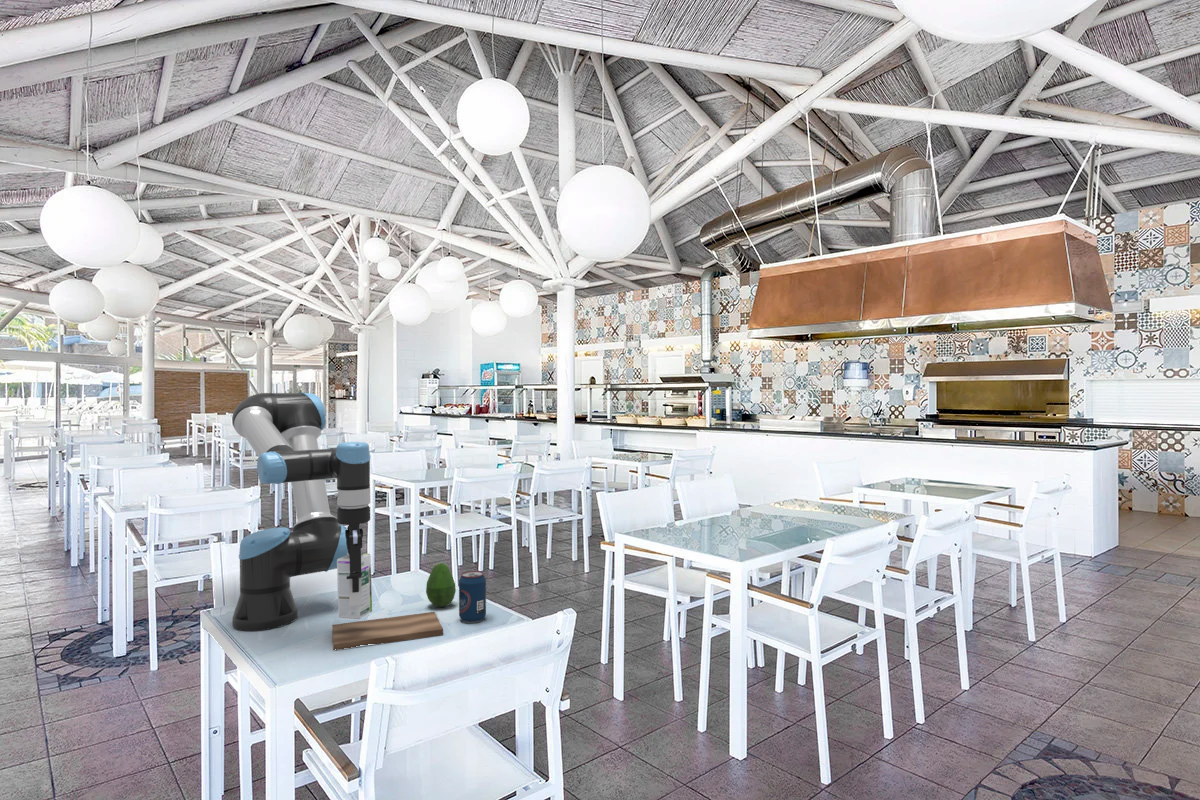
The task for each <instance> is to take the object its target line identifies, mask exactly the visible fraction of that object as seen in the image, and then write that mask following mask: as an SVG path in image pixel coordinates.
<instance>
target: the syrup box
mask: <svg viewBox="0 0 1200 800" xmlns="http://www.w3.org/2000/svg"><path fill="white" fill-rule="evenodd" d="M371 558H372V557H371V554H370V553H366V552H365V553H364V552H361V573H362V576H361V587H362V605H355V606H349V579H347V576H349V575H350V559H349V555H346V556H344V557H342V558H339V559H337V570H336V571H337V573H336V575H337V605H338V606H337V609H338V611H337V613H338V618H339V619H345V620H347V619H349V620H361V619H362V618H363V617H365V616H367V615H368V614H370V613H372V611H373V599H372V598H373V597H372V596H373V595H372V593H373V592H372V560H371Z"/></svg>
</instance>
